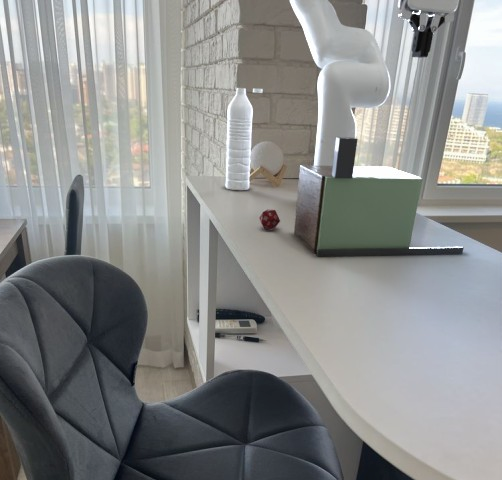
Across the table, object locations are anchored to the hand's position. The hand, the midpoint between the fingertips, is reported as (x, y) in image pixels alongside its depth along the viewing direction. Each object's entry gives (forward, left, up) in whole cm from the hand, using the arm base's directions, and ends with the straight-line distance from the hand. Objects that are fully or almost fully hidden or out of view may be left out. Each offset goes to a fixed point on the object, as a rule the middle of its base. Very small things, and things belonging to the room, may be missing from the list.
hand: (419, 56), depth 95 cm
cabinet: (+14, -10, -32) cm, 36 cm away
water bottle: (-40, -25, -32) cm, 57 cm away
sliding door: (+20, -15, -32) cm, 40 cm away
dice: (+3, -28, -32) cm, 43 cm away
